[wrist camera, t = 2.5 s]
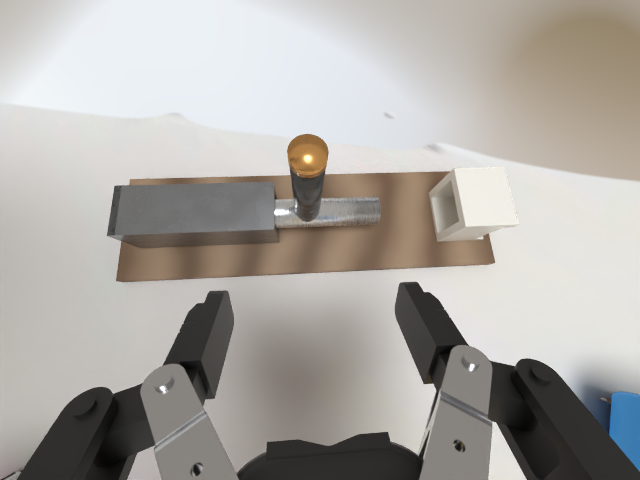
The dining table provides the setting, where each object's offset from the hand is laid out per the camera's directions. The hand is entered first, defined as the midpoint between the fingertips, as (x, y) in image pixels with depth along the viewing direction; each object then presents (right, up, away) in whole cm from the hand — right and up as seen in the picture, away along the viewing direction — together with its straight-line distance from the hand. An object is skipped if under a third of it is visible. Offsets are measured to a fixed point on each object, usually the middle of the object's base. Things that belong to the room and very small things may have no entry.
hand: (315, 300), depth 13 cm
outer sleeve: (-11, +4, +16) cm, 20 cm away
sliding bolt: (-5, +5, +15) cm, 17 cm away
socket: (+15, +6, +17) cm, 24 cm away
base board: (-1, +5, +17) cm, 18 cm away
